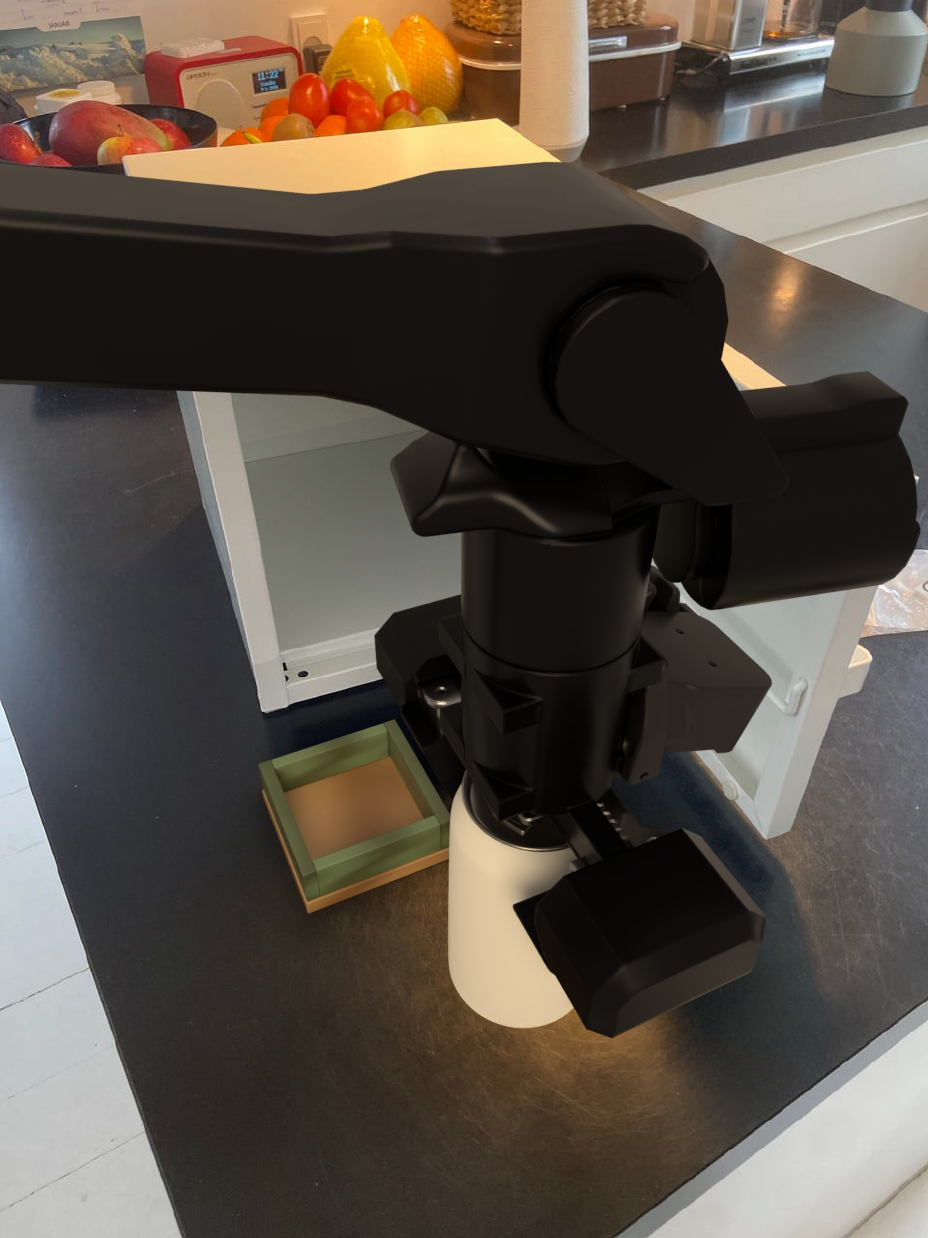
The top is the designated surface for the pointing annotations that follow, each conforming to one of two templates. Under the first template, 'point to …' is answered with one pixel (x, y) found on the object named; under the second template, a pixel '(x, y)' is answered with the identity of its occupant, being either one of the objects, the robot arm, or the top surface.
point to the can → (500, 911)
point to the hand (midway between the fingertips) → (527, 903)
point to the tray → (354, 814)
